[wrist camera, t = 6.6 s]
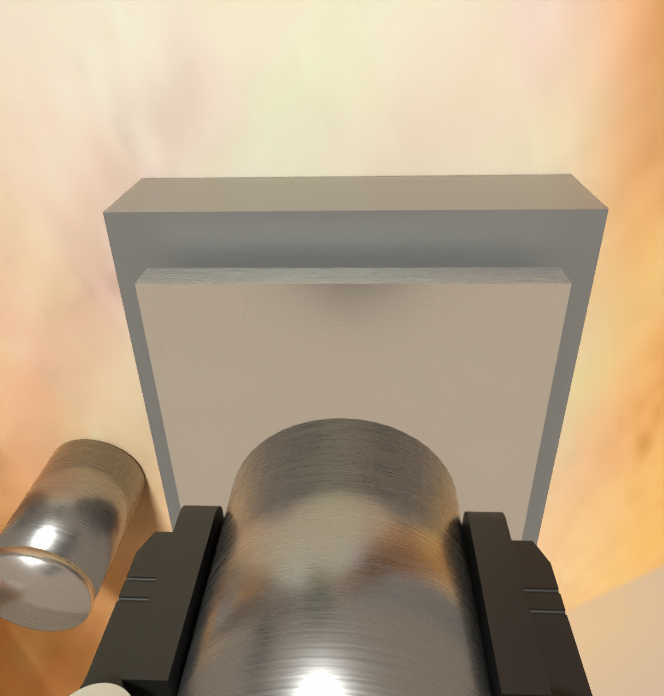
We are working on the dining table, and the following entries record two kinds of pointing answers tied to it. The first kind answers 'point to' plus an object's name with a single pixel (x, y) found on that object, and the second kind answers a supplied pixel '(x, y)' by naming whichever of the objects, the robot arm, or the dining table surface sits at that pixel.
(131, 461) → the cylinder
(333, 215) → the scale
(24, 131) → the dining table surface
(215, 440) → the platform
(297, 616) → the cylinder
